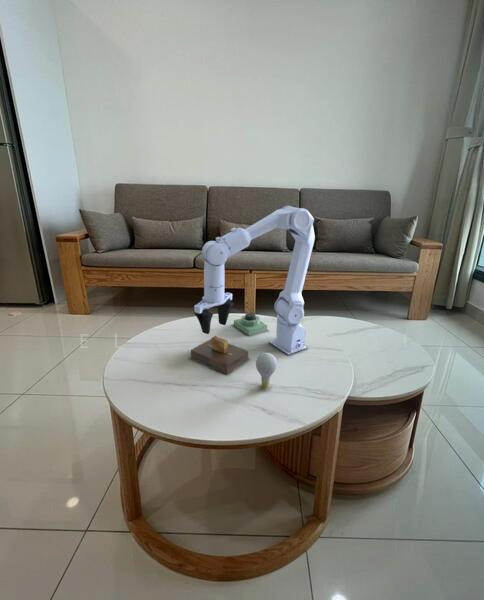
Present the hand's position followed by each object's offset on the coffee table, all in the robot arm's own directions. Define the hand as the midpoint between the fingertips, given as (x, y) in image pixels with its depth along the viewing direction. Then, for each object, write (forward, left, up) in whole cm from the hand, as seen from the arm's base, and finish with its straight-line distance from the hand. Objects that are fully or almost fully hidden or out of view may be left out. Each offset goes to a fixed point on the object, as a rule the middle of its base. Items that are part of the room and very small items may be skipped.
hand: (214, 328), depth 95 cm
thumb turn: (-2, 0, -6) cm, 7 cm away
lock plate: (-2, 0, -10) cm, 10 cm away
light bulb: (-21, -3, -10) cm, 23 cm away
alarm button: (+11, -20, -6) cm, 24 cm away
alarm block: (+11, -20, -10) cm, 25 cm away
